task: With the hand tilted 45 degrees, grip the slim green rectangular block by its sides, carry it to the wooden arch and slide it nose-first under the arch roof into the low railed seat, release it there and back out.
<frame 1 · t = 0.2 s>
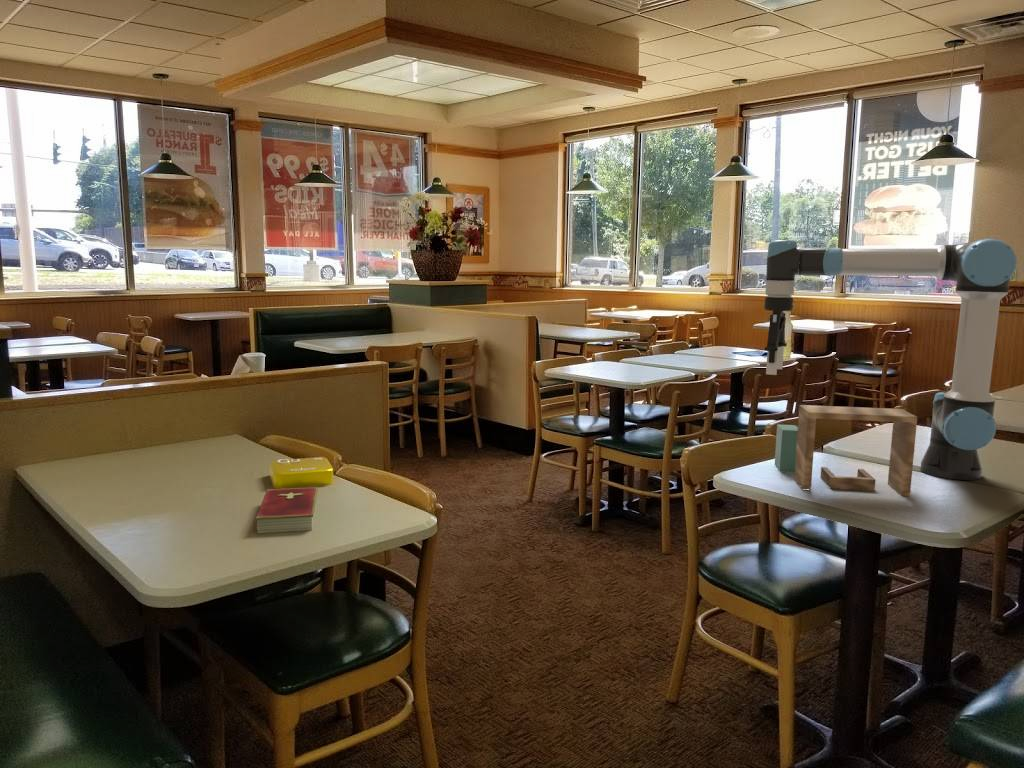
hand: (774, 371, 218), 28 cm above the table, tool pointing down, fingers open, 13 cm apart
green rectangular block: (786, 468, 221), on the table
wooden arch: (845, 482, 207), on the table
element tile: (301, 481, 203), on the table
hardcover book: (288, 519, 173), on the table
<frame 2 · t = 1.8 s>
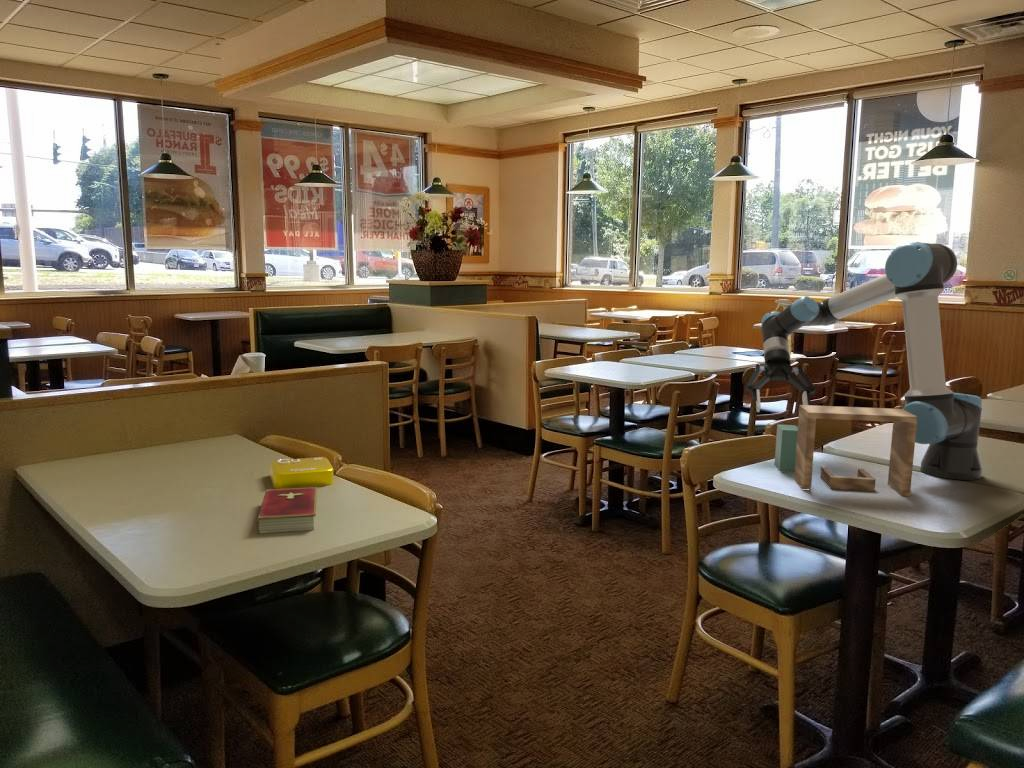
hand: (782, 410, 229), 15 cm above the table, tool tilted 45°, fingers open, 13 cm apart
nothing on the table moved.
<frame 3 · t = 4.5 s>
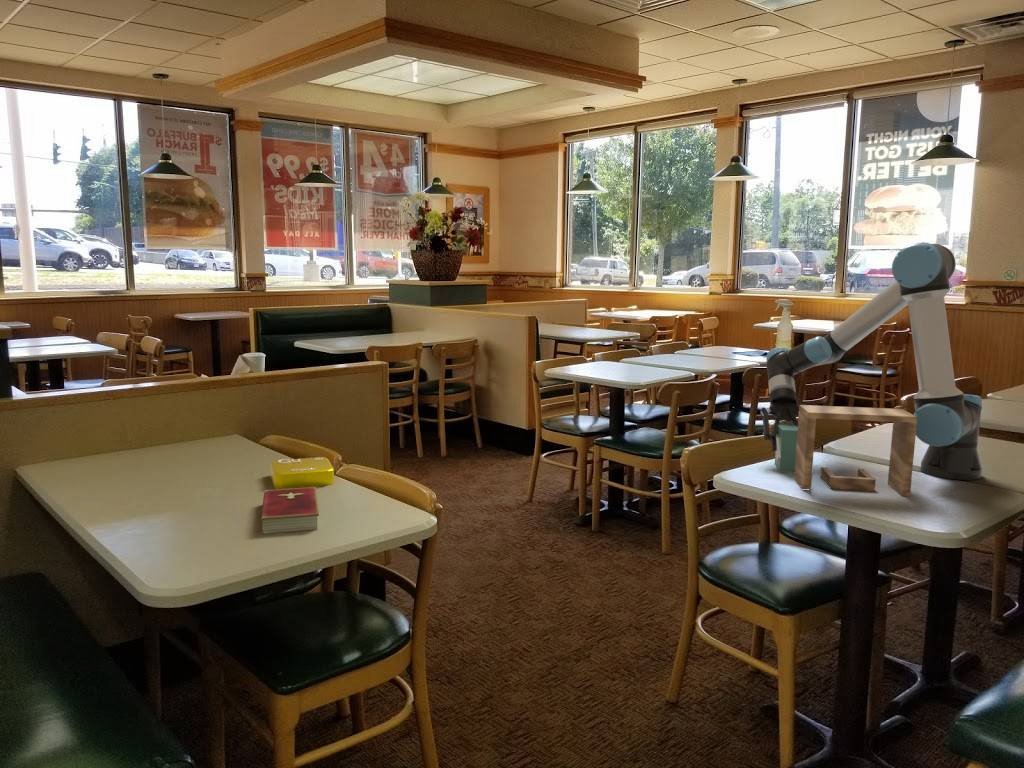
hand: (789, 460, 217), 3 cm above the table, tool tilted 45°, fingers closed on green rectangular block, 5 cm apart
green rectangular block: (786, 468, 221), on the table, touching gripper
everything else where it was.
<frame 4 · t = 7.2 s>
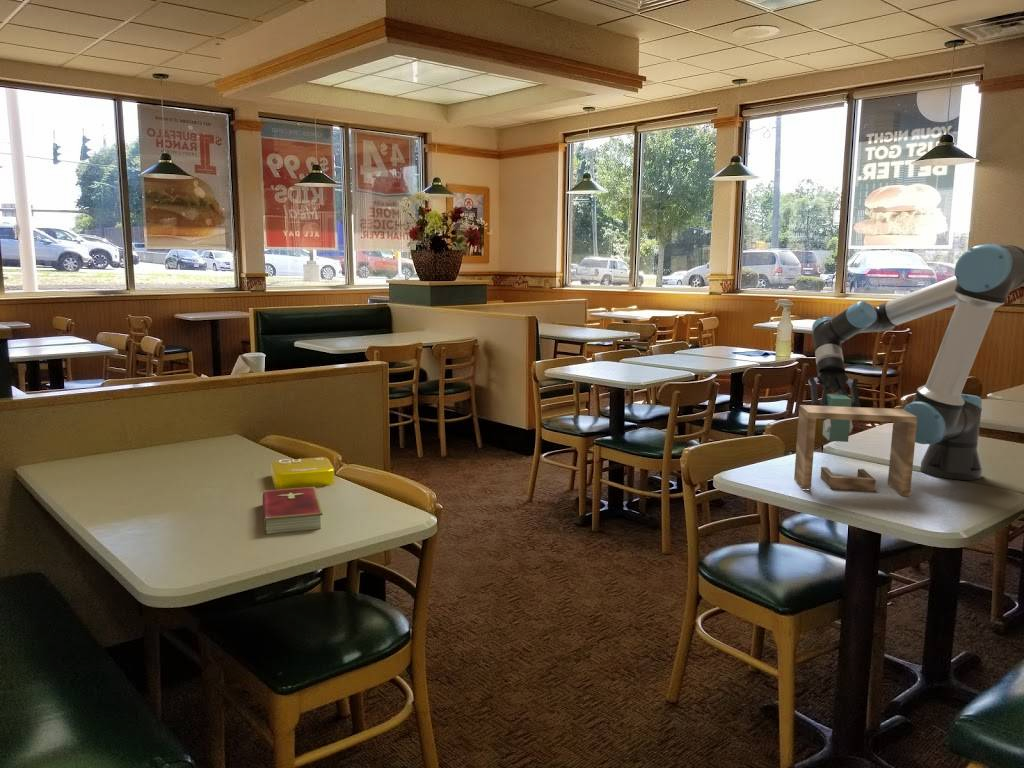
hand: (839, 429, 213), 13 cm above the table, tool tilted 45°, fingers closed on green rectangular block, 5 cm apart
green rectangular block: (835, 438, 217), point 10 cm above the table, touching gripper
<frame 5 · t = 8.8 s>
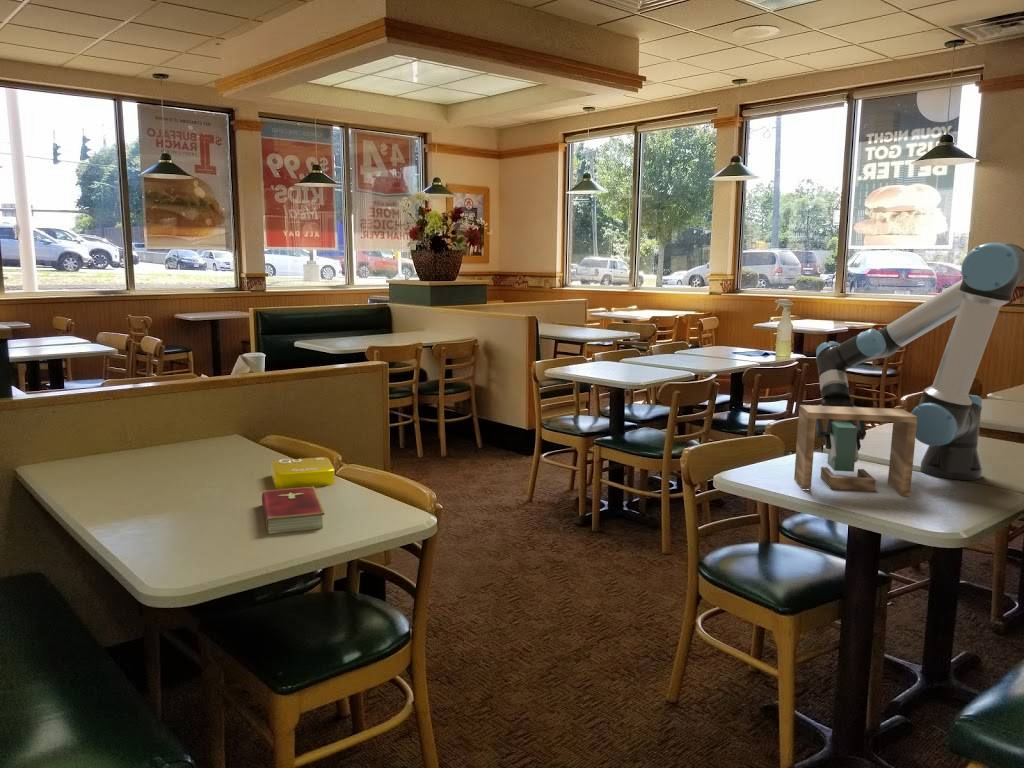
hand: (844, 458, 208), 6 cm above the table, tool tilted 45°, fingers closed on green rectangular block, 5 cm apart
green rectangular block: (840, 467, 212), point 3 cm above the table, touching gripper
when the fingers open (5 cm above the table, at t = 10.2 s): green rectangular block drops 1 cm, on the table.
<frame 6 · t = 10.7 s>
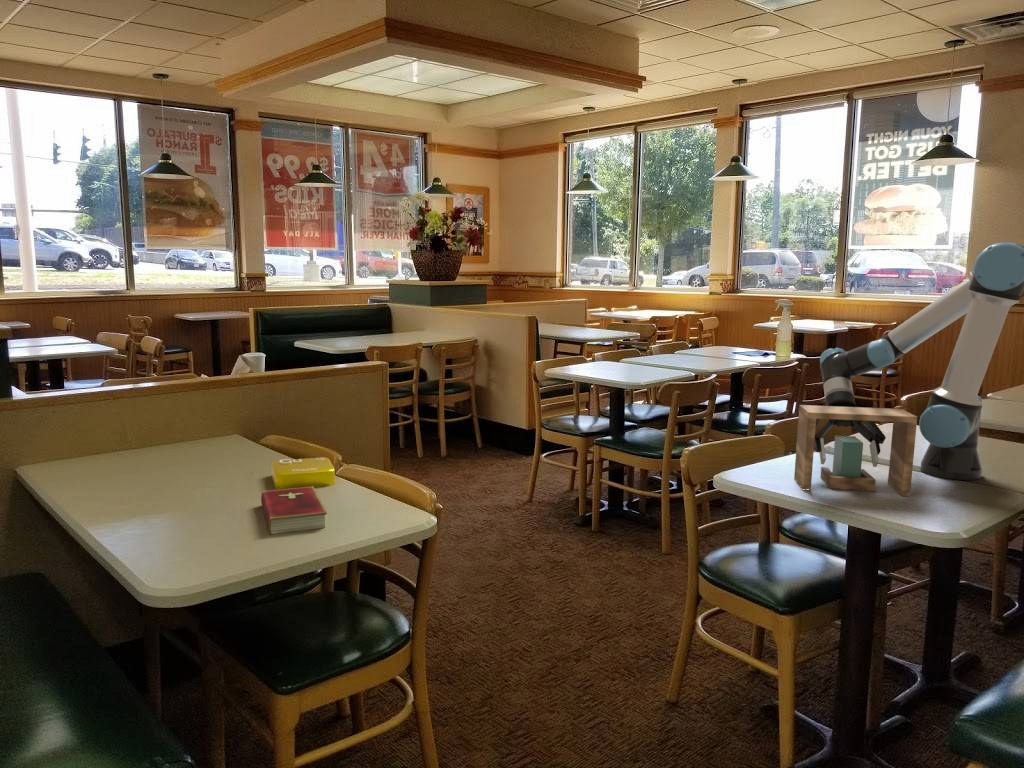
hand: (849, 463, 204), 6 cm above the table, tool tilted 45°, fingers open, 12 cm apart
green rectangular block: (845, 482, 207), on the table
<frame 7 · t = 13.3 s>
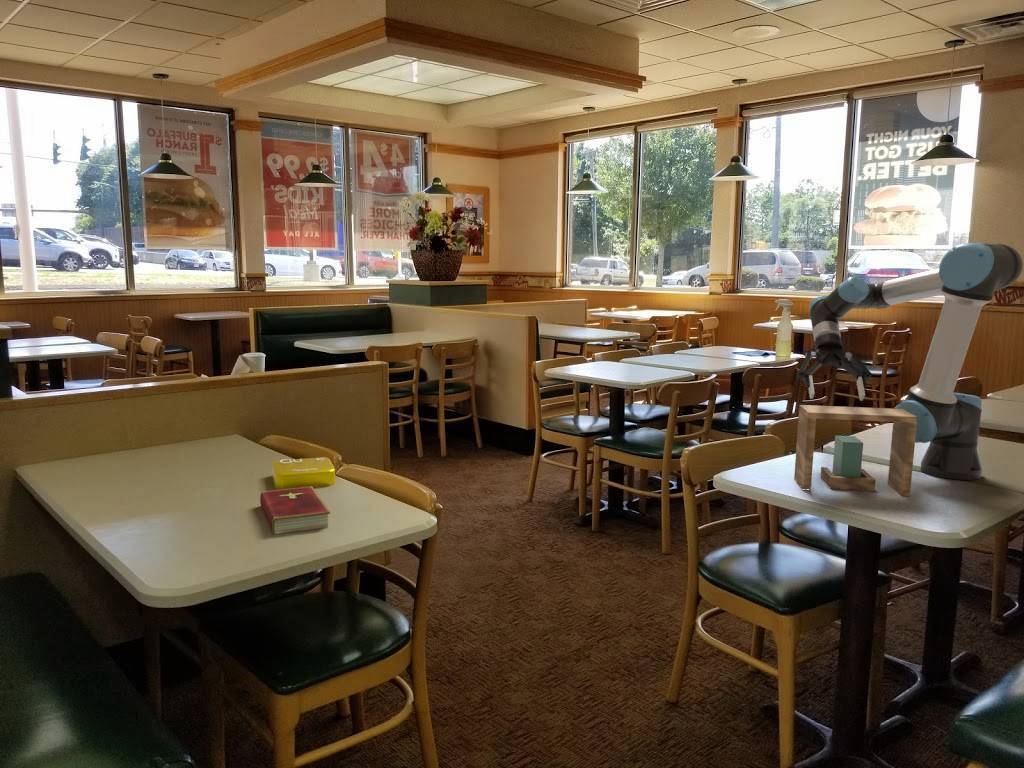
hand: (837, 397, 219), 21 cm above the table, tool tilted 45°, fingers open, 13 cm apart
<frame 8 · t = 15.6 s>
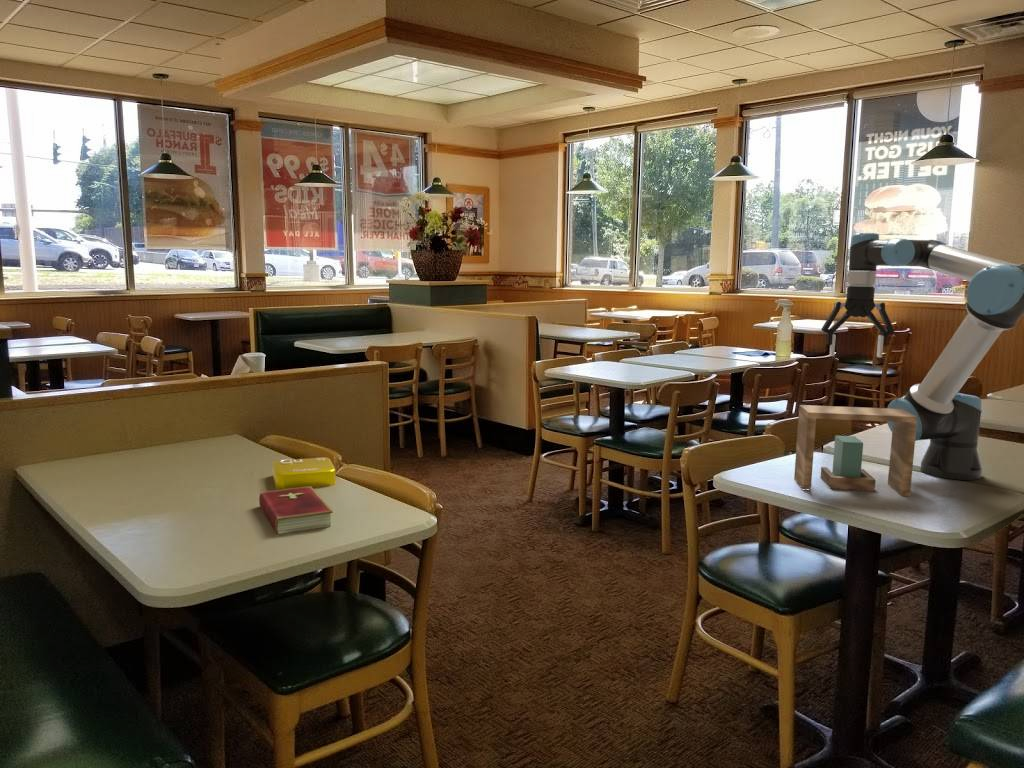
hand: (855, 356, 233), 31 cm above the table, tool pointing down, fingers open, 13 cm apart
at the end: green rectangular block inside the target area on the wooden arch (0.9 cm from its centre), point 0.0 cm above the wooden arch's base; green rectangular block tilted 0°; the gripper is holding nothing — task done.
